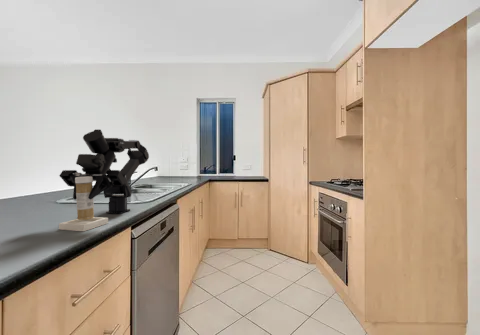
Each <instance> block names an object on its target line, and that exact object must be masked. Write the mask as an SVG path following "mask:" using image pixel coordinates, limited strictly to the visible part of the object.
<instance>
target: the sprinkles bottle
mask: <svg viewBox="0 0 480 335" xmlns="http://www.w3.org/2000/svg"><path fill="white" fill-rule="evenodd" d="M93 182H94V181H93V177H92V176H83V177H76V178H75V183H76V199H75V200H76V212H77V213H76V214H77V218H76V219H78V220H87V219H91V218H93V217H95V213H94V212H95V210H94V207H95V204H94V202H95V201H94V198H92V199H89V198H88V197H89V194H90V192H91V190H92V188H93Z"/></svg>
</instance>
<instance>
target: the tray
mask: <svg viewBox="0 0 480 335" xmlns="http://www.w3.org/2000/svg"><path fill="white" fill-rule="evenodd" d="M107 224H109V217H103V216H102V217H99V216H94V217H93V218H91V219H87V220H78V219H77V218H76V219H72V220H68V221H67V220H66V221H63V222H60V223H58V230H60V231H61V230H62V231H74V232H75V231H77V232H86V231H89V230H92V229H94V228H98V227H100V226H101V227H102V226H104V225H107Z"/></svg>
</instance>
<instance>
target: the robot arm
mask: <svg viewBox="0 0 480 335" xmlns="http://www.w3.org/2000/svg"><path fill="white" fill-rule="evenodd" d="M82 139H83V141H84V142H85V144H86V146H87V147H88V148H89V150H90V152H91V153H93V154H91V153H89V154H87V153H82V154H81V153H79V154H78V156H77V159H76V162H75V164H76V165H77V166H80V167H81V171H82V172H83V173H82V172H78V170H76V169H72V170H70V169H65V170H64V169H63V170H62V171H61V172H60V174H59V175H58V176H59V178H61V179H62V181H63V182H64V183H65V184H66V185H67V186H68V187H73V194H72V199H73V200H76V183H75V178H76V177H83V176H92V177H93V182H95V183H94V185H93V186H92V190H91V192H90V194H89V197H88V198H89V199H92V198H93V199H94V198H95V197H97V196H99V195H100V194H101V193H103V195H104V198H105V199H107V198H108V199H109V200H108V211H105V214H117V215H118V214H120V215H121V214H123V213H126V211H127V212H129V211H131V209H130V208H129V209H128V198H131V197H132V193H133V192H132V189H131V187H130V186H129V183H128V182H129V180H130V179H131V178H132V176H133V175H134V173H135V172H136V170H137V169H138V168H139V166H140V165H143V164H145V163H146V162H148V160H149V158H150V155H149V152H148V150H147V147H145V146H143V144H142V143H141V142H140V141H139V140H137V139H136V140H135V139H129V140H124V139H123V138H120V137H105V136H104V133H103V131H102V129H94V130H93V131H90V132H88V133H85V134H84V135H83V137H82ZM132 149H133V150H132ZM136 149H137V150H136ZM126 150H127V153H126V154H127V156H128V158H129V159H128V161H127V162H126V163H125V164H124V166H123V167H122V168H121V169H111V166H112V165H113V163H118V159H117V158H116V154H117V153H118V154H119V153H122V152H124V151H126Z"/></svg>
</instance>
